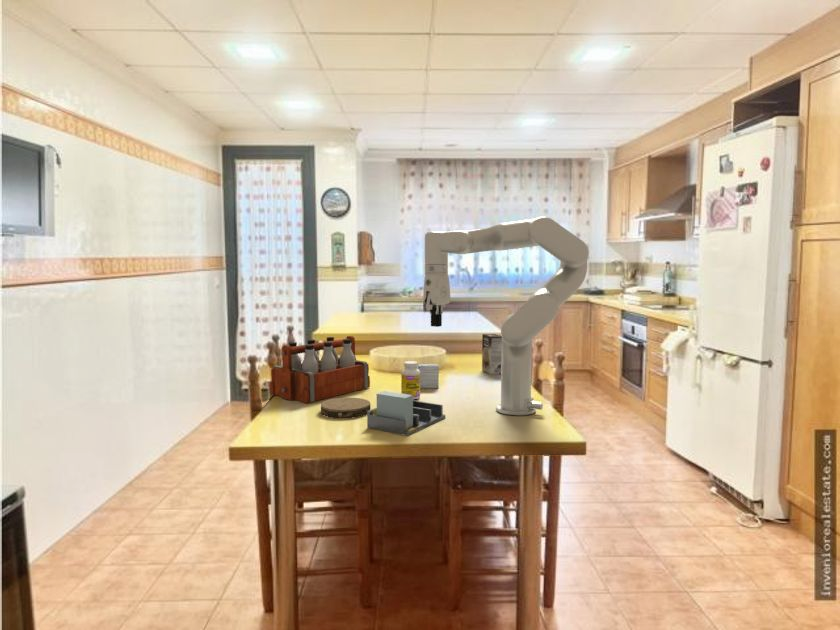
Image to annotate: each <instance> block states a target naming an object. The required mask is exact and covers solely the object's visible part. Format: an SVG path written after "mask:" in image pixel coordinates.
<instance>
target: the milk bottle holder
mask: <svg viewBox="0 0 840 630" xmlns="http://www.w3.org/2000/svg"><path fill="white" fill-rule="evenodd" d="M337 348H342V351H341V353H340V355H339V354H338V351H337V350H336V349H337ZM318 351H323V355H322V356H321V358H320V356H319V354H318ZM304 353H305V354H304ZM300 354H304V357H303V360H301V357H300ZM280 355H281V365H274V366H272V368H271V369H270V376H271V377H270V378H271V381H269V385H270V386H269V390H270V391H269V392H270V395H272V396H279V397H281V398H282V399H285V400H288V401H293V400H294V401H299V402H302V403H305V404H312V403H315V401H320V400H323V399H327V398H332V397H337V396H340V395H344V394H349V393H352V392H357V391H360V390H362V389H365V390H368V389H369V388H370V387H371V377H370V375H369V373H370V372H369V369H370V368H369V363H368V362H367V361H364V360H357V358H356V340H355V337H354V336H353V335H348V336H346V338H342V339H336V340H335V337H333V336H328V337H326V341H323V342H316V339H307V344H301V345H298V342H296V341H295V342H293V341H291V342H290V341H289V342H288V344H287V345H282V347H281V353H280Z"/></svg>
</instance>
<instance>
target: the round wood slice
mask: <svg viewBox="0 0 840 630" xmlns="http://www.w3.org/2000/svg"><path fill="white" fill-rule="evenodd" d="M369 410H371V401H370V400H368V399H364V398H360V397H338V398H337V397H336V398H330V399H327V400H324V401H322V402H321V403H320V414H321V415H322V416H323V415H325V416H324V417H326V416H328V417H327V418H330V417H333V418H332V419H353V418H352V417H355V418H360V417H359V416H361V417H363V415H365V416H367V415H366V414H367V411H369Z"/></svg>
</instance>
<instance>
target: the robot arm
mask: <svg viewBox="0 0 840 630" xmlns="http://www.w3.org/2000/svg"><path fill="white" fill-rule="evenodd" d="M531 247H541V248H542V249H543V250H545V251H546V252H548V253H549V254H550V255H551V256H553V257H554V258H556V259H557V260H558V261H560V264H559V265H560V266H559V268H558V269H557V271H556V272H555V273H554V274H553V275H552V276H551V277H550V278H549V279H548V280H547V281H546V282H545V283H544V284H543V285H542V286H540V287H539V288H538V289H536V291H534V292H533V293H531V295H530V296H529V297H528V300H526V301H525V302H524V303H523V304H522V305H521V306H520V307H519V308H517V310H516V311H514V313H511V314H509V315H506V317H505V318H504V319H503V321H502V323H501V324H502V325H501V326H500V327H501V328H500V336H502V363H501V374H500V377H501V378H500V382H501V383H500V403H499V404H497V405H495V410H496V412H498V413H500V414H504V415H508V416H528V415H532V414H535V413H536V410H540V411H542V410H543V406H544V405H543V402H542V401H540V402H539V401H536V400H535V398H534V396H532V361H533V360H532V358H533V356H532V355H533V354H532V353H533V352H532V351H533V345H532V344H533V339H534V338H535V337H536V336H538V335H539V333H541V332H542V331H543V330H544V329H545V328H546V327H548V326H549V324H551V323H552V321H554V319H555V318H556V317H557V315H558V313H559V311H560V308H561V307H562V306H563V305H564V304H565V303H566V302H567V301H568V300H569V298H571V297H572V296H573V295H574V294H575V293H576V292H577V291H578V289H579V288H580V287H581V286H582V284H583V283H584V281H585V279H586V276H587V272H588V258H589V255H590V251H589V246H588V245H587V243H585V241H583V240H582V239H581V238H579V237H578V236H576V235H575V234H574V233H572V232H571V231H569V230H568V229H567V228H565V227H564V226H562V225H561V224H560V223H558V222H556V221H555V220H554V219H552V218H551V217H548V216H543V215H542V216H539V217H536V218H532V219H530V218H529V219H523V220H517V221H509V222H501V223H498V224H495V225H493V226H489V227H486V228H479V229H472V230H461V229H460V230H459V229H456V230H451V231H440V230H437V231H436V230H433V231H427V232H426V233H425V234H424V280H423V292H422V293H423V295H422V296H423V304H424V305H425V309H427V311H429V314H430V327H434V328H435V327H437V328H438V327H442V323H443V321H442V320H443V318H442V315H443V311H444V310H443V309H444V308H446V307H447V305H448V304H450V303H451V287H450V285H451V284H450V278H449V254H453V255H455V254H456V255H466V254H475V253H482V252H491V251H492V252H493V251H507V250H515V249H517V250H518V249H523V248H531Z"/></svg>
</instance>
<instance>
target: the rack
mask: <svg viewBox="0 0 840 630" xmlns="http://www.w3.org/2000/svg"><path fill="white" fill-rule="evenodd" d="M443 406H444V405H443V404H439V403H433V402H425V401H420V400H413V426H411V427H409V428H407V429H406V420H400V419H395V418H389V417H384V416H378V415H377V407H375V408H371V409H370V410H369V411H367V415H366V421H367V423H366V425H367V426H366V427H367V429H370V428H371V429H370V430H377V431H382V432H387V433H391V434H395V435H396V434H397V435H401V436H402V435H403V436H405V437H406V436H410V435H412V434H414V433H416V432H418V431H420V430H423V429H425V428H427V427H429V426H431V425H433V424H436V423H438V422H440V421H441V420H444V419H446V414H443V411H444V410H443Z"/></svg>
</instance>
